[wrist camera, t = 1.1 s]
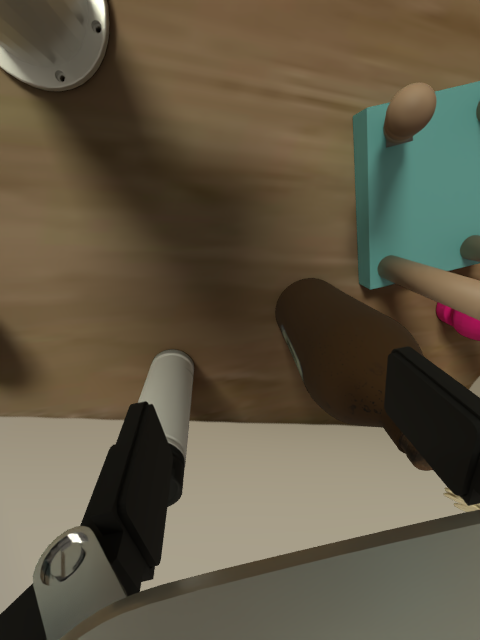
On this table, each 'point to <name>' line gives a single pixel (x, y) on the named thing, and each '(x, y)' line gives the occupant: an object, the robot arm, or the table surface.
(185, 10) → the table surface
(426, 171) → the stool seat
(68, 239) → the table surface
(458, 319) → the pepper mill
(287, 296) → the olive oil
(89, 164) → the table surface
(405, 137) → the hinged leg
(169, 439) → the travel mug
